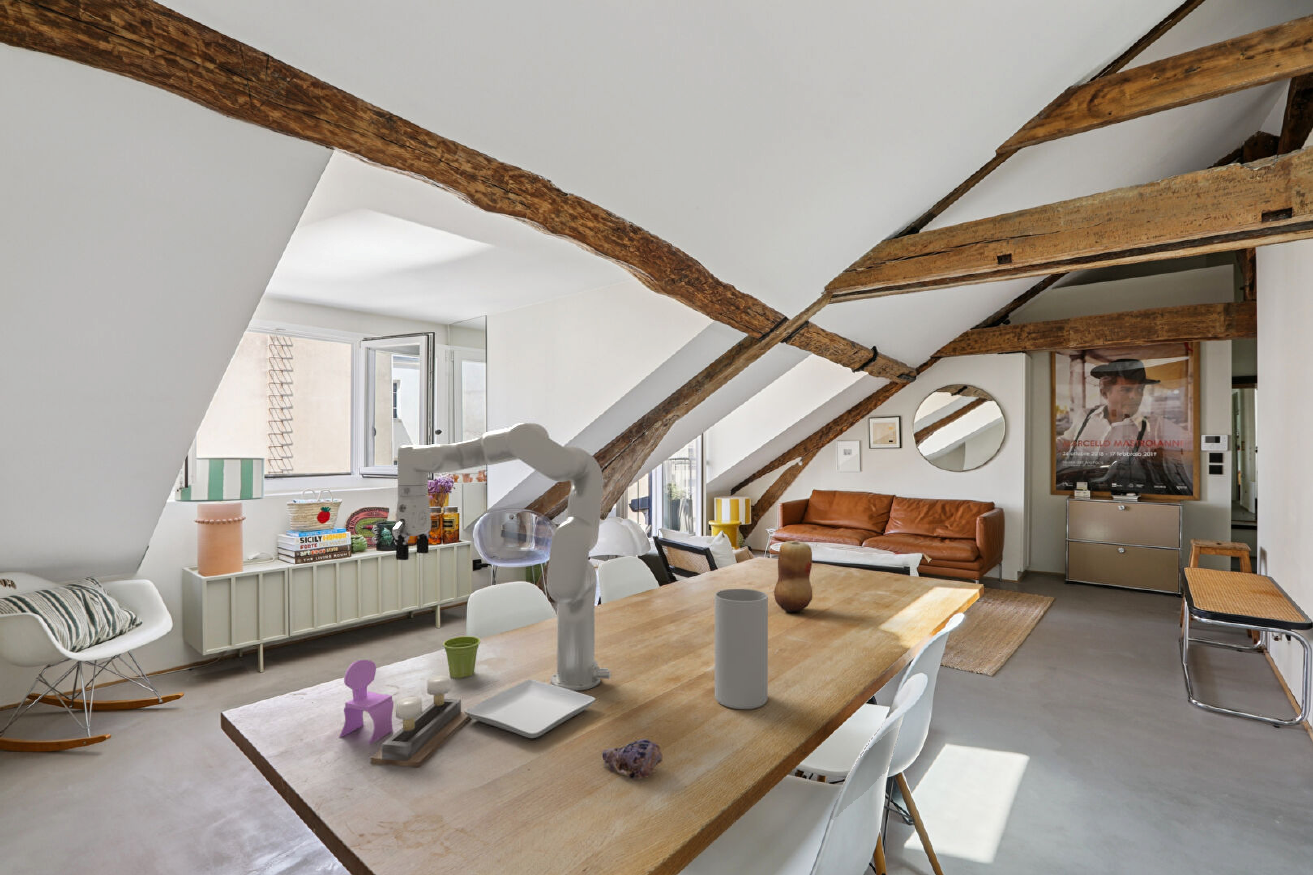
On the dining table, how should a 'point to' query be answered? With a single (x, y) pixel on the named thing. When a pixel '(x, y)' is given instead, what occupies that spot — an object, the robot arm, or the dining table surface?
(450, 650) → the plant pot
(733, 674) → the cylinder vase
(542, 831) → the dining table surface
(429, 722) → the mount
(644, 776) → the grey-brown rounded lump
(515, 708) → the salad plate
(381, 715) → the toy chair
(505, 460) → the robot arm
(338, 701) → the dining table surface
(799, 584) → the butternut squash
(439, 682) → the plunger far
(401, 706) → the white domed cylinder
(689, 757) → the dining table surface
